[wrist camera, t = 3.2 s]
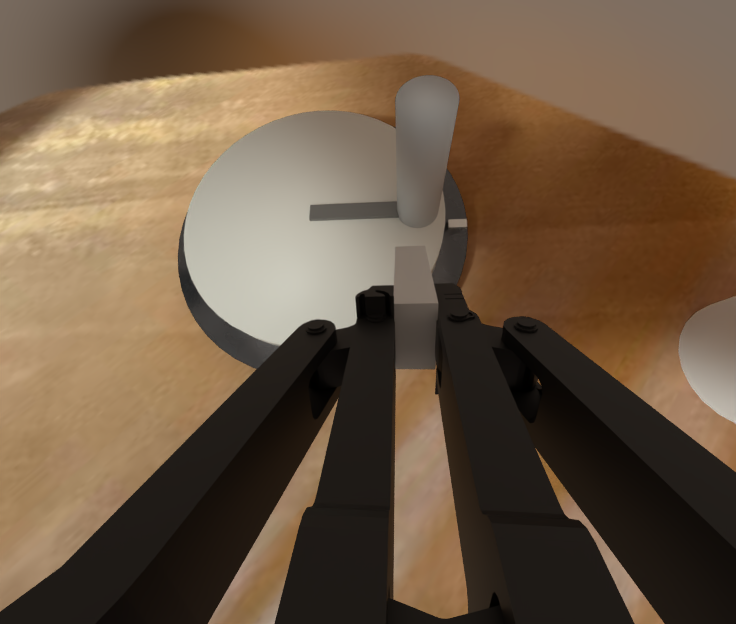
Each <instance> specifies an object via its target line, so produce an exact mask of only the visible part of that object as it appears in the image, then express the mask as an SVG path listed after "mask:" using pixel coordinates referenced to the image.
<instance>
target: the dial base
mask: <svg viewBox="0 0 736 624" xmlns="http://www.w3.org/2000/svg"><path fill="white" fill-rule="evenodd" d="M392 127H393V126H392ZM394 128H396V127H394ZM442 191H443V195H444V202H445V228H444V234H443V240H442V244H441V248H440V252H439V256H438V259H437V262H436V265H435V268H434V270H433V272H432V278H433V282H434V284H440V283H454V284H455V285H457V283H458V280H459V278H460V276H461V273H462V269H463V265H464V261H465V257H466V250H467V240H468V232H467V218H466V213H465V208H464V203H463V200H462V198H461V195H460V192H459V189H458V187H457V185H456V183H455V181H454V179H453V178H452V176H451V174H450V172H449V171H448V170H447V168H446V174H445V179H444V184H443V190H442ZM187 213H188V212H187ZM186 217H187V215H186ZM186 217H185V220H184V223H183V227H182V231H181V235H180V239H179V250H178V270H179V277H180V283H181V288H182V291H183V294H184V297H185V300H186V303H187V305H188V307H189V309H190V311H191V313H192V315H193V317H194V318H195V320H196V322H197V323H198V324H199V326H200V327H201V328H202V330H203V331H204V332H205V334H206V335H207V336H208V337H209V338H210V339H211V340H212V341H213V342H214V343H215V344H216V345H217V346H218V347H219V348H221V349H222V350H224V351H225V352H226V353H228V354H229V355H231V356H232V357H233V358H235V359H237V360H239V361H241V362H243V363H245V364H247V365H249V366H251V367H253V368H256V369H258V368H259V367H260V366H261V365H262V364H263V363H264V362H265V360H266V359H267V358H268V357H269V356H270V355H271V354H272V353H273V352H274V351H275V350H276V349H277V348H278V347H279V346H275V345H272V344H269V343H266V342H263V341H261V340H258V339H256V338H254V337H252V336H250V335H249V334H247V333H245V332H243V331H241V330H239V329H237V328H235V327H233V326H232V325H230V324H229V323H228V322H226V321H225V320H223V319H222V318H221V317H219V316H218V315H217V314H216V313H215V312H214V311H213V310H212V309H211V308H210V307H209V306H208V305H207V304H206V302H205V301H204V299H203V298H202V297H201V295H200V294H199V292H198V291H197V289H196V287H195V285H194V283H193V281H192V279H191V276H190V273H189V270H188V267H187V264H186V258H185V252H184V229H185V221H186Z"/></svg>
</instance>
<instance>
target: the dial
mask: <svg viewBox="0 0 736 624" xmlns="http://www.w3.org/2000/svg"><path fill="white" fill-rule="evenodd" d="M458 105H459V93H458V90H457V88H456V87H455V86H454V84H453V83H451V82H450V81H449V80H447V79H445V78H442V77H439V76H434V75H425V76H419V77H416V78H413V79H411V80H409V81H407V82H406V83H405V84H404V85H402V86H401V88H400V89H399V91H398V92H397V95H396V99H395V110H396V128H394V127H392V126H391V125H389V124H386V123H384V122H382V121H380V120H378V119H375V118H372V117H369V116H365V115H362V114H357V113H352V112H344V111H313V112H305V113H300V114H295V115H291V116H287V117H284V118H281V119H278V120H275V121H272V122H270V123H268V124H266V125H264V126H261V127H259V128H257V129H256V130H254V131H252V132H250V133H249V134H247V135H245V136H244V137H243V138H241V139H240V140H238V141H237V142H236V143H234V144H233V145H232V146H231V147H230V148H228V149H227V150H226V151H225V152H224V153H223V154H222V155H221V156H220V157H219V158H218V159H217V160H216V161H215V162H214V164H213V165H212V166H211V167H210V169H209V170H208V171H207V173H206V174H205V175H204V177H203V178H202V180H201V182H200V184H199V185H198V187H197V189H196V191H195V193H194V196H193V198H192V200H191V203H190V205H189V209H188V213H187V217H186V221H185V229H184V252H185V258H186V264H187V267H188V270H189V273H190V276H191V279H192V281H193V283H194V285H195V287H196V289H197V291H198V292H199V294H200V295H201V297H202V298H203V299H204V301H205V302H206V304H207V305H208V306H209V307H210V308H211V309H212V310H213V311H214V312H215V313H216V314H217V315H218V316H219V317H221V318H222V319H223V320H225V321H226V322H228V323H229V324H230V325H232V326H233V327H235V328H237V329H239V330H241V331H243V332H245V333H247V334H249V335H250V336H252V337H254V338H256V339H258V340H261V341H263V342H266V343H269V344H272V345H275V346H280V345H281V344H282V343H283V342H284V341H285V340H286V339H287V338H288V337H289V336H290V335H291V334H292V333H293V332H294V331H295V330H296V329H297V328H298V327H299V326H301V325H302V324H303V323H306V322H308V321H311V320H315V319H320V320H328V321H331V322H332V323H334V324H335V327H336V329H342V328H346V327H350V326H352V325H354V324H356V320H357V313H356V301H355V296H356V295H357V294H358V293H360V292H361V291H364V290H368V289H369V288H370V287H371V286H378V285H394V270H395V247H398V246H425V248H426V252H427V256H428V261H429V265H430V269H431V274H432V272H433V270H434V268H435V265H436V262H437V259H438V256H439V252H440V248H441V244H442V240H443V234H444V228H445V202H444V195H443V191H442V190H443V184H444V179H445V174H446V168H447V163H448V158H449V153H450V147H451V142H452V137H453V131H454V126H455V121H456V115H457V110H458Z"/></svg>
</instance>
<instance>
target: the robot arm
mask: <svg viewBox="0 0 736 624" xmlns="http://www.w3.org/2000/svg"><path fill="white" fill-rule="evenodd" d="M355 301H356V313H357V320H356V324H354V325H352V326H350V327H346V328H342V329H336V327H335V324H334V323H332V322H331V321H328V320H320V319H315V320H311V321H308V322H306V323H303V324H302V325H301V326H299V327H298V328H297V329H296V330H295V331H294V332H293V333H292V334H291V335H290V336H289V337H288V338H287V339H286V340H285V341H284V342H283V343H282V344H281V345H280V346H279V347H278V348H277V349H276V350H275V351H274V352H273V353H272V354H271V355H270V356H269V357H268V358H267V359H266V360H265V362H264V363H263V364H262V365H261V366H260V367H259V368H258V369H257V370H256V371H255V372H254V373H253V374H252V375H251V376H250V377H249V378H248V379H247V380H246V381H245V382H244V383H243V384H242V385H241V386H240V387H239V388H238V389H237V390H236V391H235V392H234V393H233V394H232V395H231V396H230V397H229V398H228V399H227V400H226V401H225V402H224V403H223V404H222V405H221V406H220V407H219V408H218V409H217V410H216V411H215V412H214V413H213V414H212V415H211V416H210V417H209V418H208V419H207V420H206V421H205V422H204V423H203V424H202V425H201V426H200V427H199V428H198V429H197V430H196V431H195V432H194V433H193V434H192V435H191V436H190V437H189V438H188V439H187V440H186V441H185V442H184V443H183V444H182V445H181V446H180V447H179V448H178V449H177V450H176V451H175V452H174V453H173V454H172V455H171V457H170V458H169V459H168V460H167V461H166V462H165V463H164V464H163V465H162V466H161V467H160V468H159V469H158V470H157V471H156V472H155V473H154V474H153V475H152V476H151V477H150V478H149V479H148V480H147V481H146V482H145V483H144V484H143V485H142V486H141V487H140V488H139V489H138V490H137V491H136V492H135V493H134V494H133V495H132V496H131V497H130V498H129V499H128V500H127V501H126V502H125V503H124V504H123V505H122V506H121V507H120V508H119V509H118V510H117V511H116V512H115V513H114V514H113V515H112V516H111V517H110V518H109V519H108V520H107V521H106V522H105V523H104V524H103V525H102V526H101V527H100V528H99V529H98V530H97V531H96V532H95V533H94V534H93V535H92V536H91V537H90V538H89V539H88V540H87V541H86V542H85V543H84V544H83V545H82V546H81V547H80V548H79V549H78V550H77V552H76V553H75V554H74V555H73V556H72V557H71V558H70V559H69V560H68V561H67V562H66V563H65V564H64V565H63V566H62V567H60V568H59V569H58V570H56V571H55V572H54V573H52V574H51V575H50V576H48V577H47V578H45V579H44V580H43V581H41V582H40V583H39V584H37V585H36V586H35V587H33V588H32V589H30V590H29V591H28V592H26V593H25V594H24V595H22V596H21V597H20V598H18V599H17V600H16V601H14V602H13V603H11V604H10V605H9V606H7V607H6V608H5V609H3V610H2V611H1V612H0V624H208V622H209V620H210V619H211V617H212V615H213V613H214V612H215V610H216V608H217V606H218V605H219V603H220V601H221V600H222V598H223V596H224V594H225V593H226V591H227V589H228V587H229V586H230V584H231V582H232V581H233V579H234V577H235V575H236V574H237V572H238V570H239V568H240V567H241V565H242V563H243V562H244V560H245V558H246V556H247V555H248V553H249V551H250V549H251V548H252V546H253V544H254V543H255V541H256V539H257V537H258V536H259V534H260V532H261V530H262V529H263V527H264V525H265V524H266V522H267V520H268V518H269V517H270V515H271V513H272V511H273V510H274V508H275V506H276V505H277V503H278V501H279V499H280V498H281V496H282V494H283V492H284V491H285V489H286V487H287V486H288V484H289V482H290V480H291V479H292V477H293V475H294V473H295V472H296V470H297V468H298V467H299V465H300V463H301V461H302V460H303V458H304V456H305V455H306V453H307V451H308V449H309V448H310V446H311V444H312V442H313V441H314V439H315V437H316V436H317V434H318V432H319V430H320V429H321V427H322V425H323V423H324V422H325V420H326V418H327V417H328V415H329V413H330V411H331V410H332V408H333V406H334V404H335V403H336V401H337V399H338V398H339V399H338V403H337V407H336V412H335V416H334V420H333V425H332V429H331V434H330V438H329V442H328V447H327V451H326V456H325V460H324V464H323V469H322V473H321V477H320V482H319V486H318V491H317V495H316V499H315V502H314V504H313V506H312V507H307V508H306V510H305V512H304V514H303V516H302V520H301V523H300V526H299V530H298V534H297V537H296V541H295V545H294V549H293V553H292V557H291V561H290V565H289V569H288V573H287V577H286V581H285V585H284V589H283V593H282V597H281V600H280V604H279V608H278V612H277V616H276V620H275V624H634V622H633V620H632V618H631V616H630V614H629V611H628V609H627V607H626V605H625V603H624V601H623V599H622V597H621V595H620V593H619V591H618V589H617V586H616V584H615V582H614V580H613V578H612V576H611V574H610V572H609V570H608V568H607V566H606V564H605V561H604V559H603V557H602V555H601V553H600V551H599V549H598V547H597V545H596V543H595V541H594V539H593V538H592V536H591V534H590V532H589V531H588V529H587V528H586V527H585V526H584V525H583V524H582V523H581V522H580V521H579V520H574V519H569V518H568V517H567V516H566V515H565V514H564V512H563V510H562V508H561V506H560V504H559V502H558V500H557V497H556V495H555V493H554V490H553V488H552V486H551V483H550V481H549V479H548V476H547V474H546V472H545V469H544V467H543V465H542V462H541V460H540V458H539V456H538V453H537V451H536V449H537V450H538V452H539V453H540V455H541V456H542V457H543V459H544V460H545V461H546V463H547V464H548V465H549V467H550V468H551V469H552V471H553V472H554V474H555V475H556V476H557V478H558V479H559V480H560V482H561V483H562V484H563V486H564V487H565V489H566V490H567V491H568V493H569V494H570V495H571V497H572V498H573V499H574V501H575V502H576V503H577V505H578V506H579V508H580V509H581V510H582V512H583V513H584V514H585V516H586V517H587V518H588V520H589V521H590V523H591V524H592V525H593V527H594V528H595V529H596V531H597V532H598V533H599V535H600V536H601V537H602V539H603V540H604V542H605V543H606V544H607V546H608V547H609V548H610V550H611V551H612V552H613V554H614V555H615V557H616V558H617V559H618V561H619V562H620V563H621V565H622V566H623V567H624V569H625V570H626V571H627V573H628V574H629V576H630V577H631V578H632V580H633V581H634V582H635V584H636V585H637V586H638V588H639V589H640V591H641V592H642V593H643V595H644V596H645V597H646V599H647V600H648V601H649V603H650V604H651V605H652V607H653V608H654V610H655V611H656V612H657V614H658V615H659V616H660V618H661V619H662V620H663V622H664V623H665V624H736V472H735V471H733V470H732V469H731V468H729V467H728V466H727V465H726V464H724V463H723V462H722V461H720V460H719V459H718V458H717V457H715V456H714V455H713V454H711V453H710V452H709V451H708V450H706V449H705V448H704V447H702V446H701V445H700V444H699V443H697V442H696V441H695V440H693V439H692V438H691V437H690V436H688V435H687V434H686V433H684V432H683V431H682V430H681V429H679V428H678V427H677V426H675V425H674V424H673V423H672V422H670V421H669V420H668V419H666V418H665V417H664V416H663V415H661V414H660V413H659V412H657V411H656V410H655V409H654V408H652V407H651V406H650V405H648V404H647V403H646V402H645V401H643V400H642V399H641V398H639V397H638V396H637V395H636V394H634V393H633V392H632V391H630V390H629V389H628V388H627V387H625V386H624V385H623V384H621V383H620V382H619V381H618V380H616V379H615V378H614V377H612V376H611V375H610V374H609V373H607V372H606V371H605V370H603V369H602V368H601V367H600V366H598V365H597V364H596V363H594V362H593V361H592V360H591V359H589V358H588V357H587V356H585V355H584V354H583V353H582V352H580V351H579V350H578V349H576V348H575V347H574V346H573V345H571V344H570V343H569V342H567V341H566V340H565V339H564V338H562V337H561V336H560V335H558V334H557V333H556V332H555V331H553V330H552V329H551V328H549V327H548V326H547V325H546V324H544V323H542V322H540V321H539V320H536V319H532V318H530V317H523V316H521V317H512V318H509V319H507V320H506V321H504V325H503V328H500V327H493V326H488V325H485V324H482V323H481V321H480V319H479V317H478V316H477V314H476V313H474V312H472V311H470V310H469V309H468V306H467V304H466V301H465V299H464V296H463V295H462V291H461V289H460V288H459V287H458V286H457V285H455V284H454V283H440V284H434V282H433V278H432V274H431V269H430V265H429V261H428V256H427V252H426V248H425V246H398V247H395V270H394V285H378V286H371V287H370V288H369V289H368V290H364V291H361V292H360V293H358V294H357V295H356V296H355ZM435 364H436V365H437V368H436V388H435V394H439V401H440V408H441V415H442V422H443V428H444V435H445V442H446V449H447V456H448V462H449V469H450V476H451V483H452V490H453V496H454V503H455V510H456V517H457V523H458V530H459V537H460V544H461V551H462V557H463V564H464V571H465V578H466V585H467V595H468V614H465V615H461V616H457V617H453V618H449V619H441V618H438V617H435V616H433V615H430V614H428V613H425V612H423V611H420V610H418V609H415V608H413V607H410V606H408V605H406V604H403V603H401V602H398V601H396V600H393V569H394V480H395V390H396V371H395V369H435ZM538 379H539V381H540V383H541V385H540V384H539V383H538V382H537V381H538ZM535 448H536V449H535Z"/></svg>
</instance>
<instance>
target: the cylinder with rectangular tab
mask: <svg viewBox="0 0 736 624" xmlns="http://www.w3.org/2000/svg"><path fill="white" fill-rule="evenodd" d="M678 352H679V357H680V362H681V367H682V370H683V372H684V374H685V376H686V378H687V380H688V382H689V384H690V386H691V387H692V388H693V389H694V391H695V392H696V393H697V394H698V396H699V397H700V398H701V399H702V401H703V402H705V403H706V404H707V405H708V406H709V407H711V408H712V409H713V410H714V411H715V412H717V413H718V414H719V415H721V416H723V417H725V418H726V419H728V420H730V421H732V422H734V423H736V296H734V297H731V298H728V299H725V300H722V301H719V302H716V303H713V304H711V305H708V306H707V307H705V308H703V309H701V310H699V311H697V312H696V313H695V314H694V315H693V316H692V317H691V318H690V319H689V320H688V321H687V322H686V323H685V326H684V328H683V330H682V332H681V335H680V340H679V350H678Z"/></svg>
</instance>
